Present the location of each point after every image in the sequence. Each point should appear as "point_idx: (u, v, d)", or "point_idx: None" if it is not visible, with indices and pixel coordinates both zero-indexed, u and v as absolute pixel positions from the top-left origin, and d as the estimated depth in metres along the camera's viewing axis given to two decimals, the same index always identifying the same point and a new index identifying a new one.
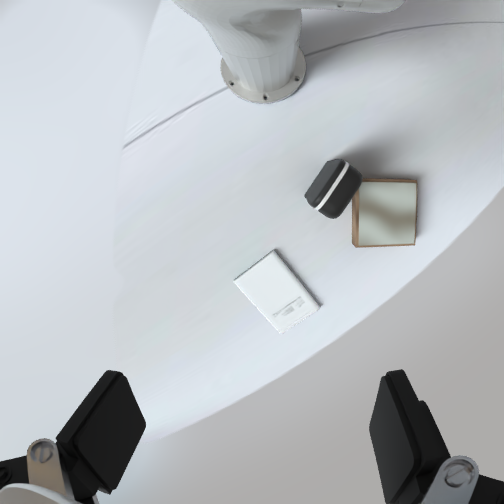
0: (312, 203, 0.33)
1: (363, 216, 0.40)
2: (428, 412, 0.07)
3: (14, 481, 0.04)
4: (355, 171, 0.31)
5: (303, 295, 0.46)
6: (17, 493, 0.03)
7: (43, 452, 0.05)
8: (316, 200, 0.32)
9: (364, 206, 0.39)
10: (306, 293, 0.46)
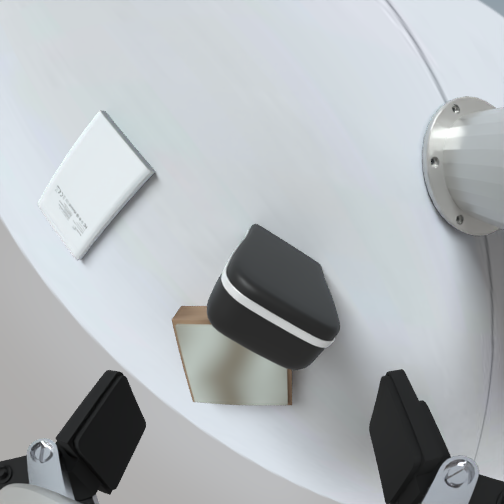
0: (236, 268, 0.14)
1: None
2: (428, 412, 0.07)
3: (14, 481, 0.04)
4: (314, 358, 0.14)
5: (89, 232, 0.25)
6: (17, 493, 0.03)
7: (43, 452, 0.05)
8: (244, 281, 0.13)
9: None
10: (92, 237, 0.25)
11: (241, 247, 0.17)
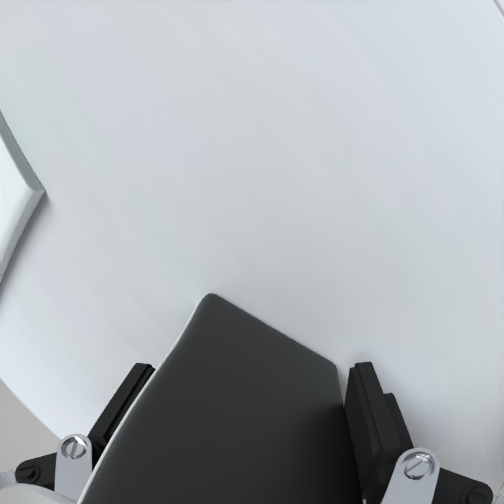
0: None
1: None
2: (395, 404, 0.07)
3: (43, 480, 0.05)
4: None
5: None
6: (17, 493, 0.03)
7: (75, 448, 0.06)
8: None
9: None
10: None
11: (130, 431, 0.05)
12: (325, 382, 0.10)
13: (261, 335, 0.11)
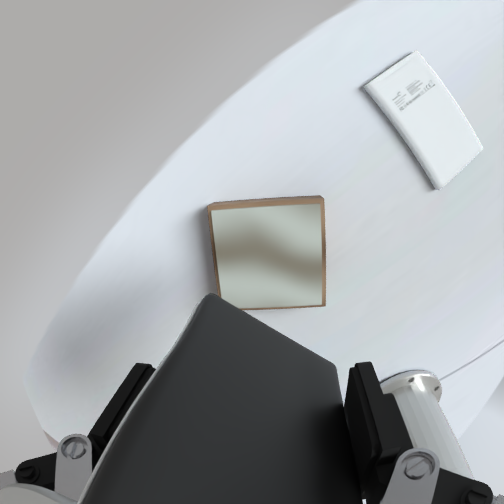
0: None
1: (315, 253, 0.25)
2: (395, 404, 0.07)
3: (43, 480, 0.05)
4: None
5: (396, 111, 0.23)
6: (17, 493, 0.03)
7: (75, 448, 0.06)
8: None
9: (313, 269, 0.25)
10: (391, 114, 0.23)
11: (129, 431, 0.05)
12: (325, 382, 0.10)
13: (261, 335, 0.11)
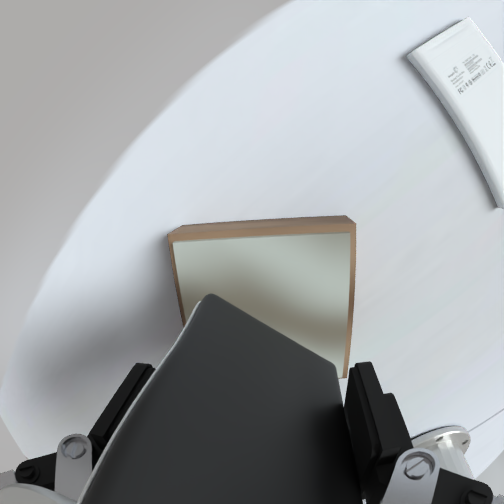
0: None
1: (337, 310, 0.15)
2: (395, 404, 0.07)
3: (43, 480, 0.05)
4: None
5: (454, 93, 0.13)
6: (17, 493, 0.03)
7: (75, 448, 0.06)
8: None
9: (334, 333, 0.16)
10: (448, 97, 0.13)
11: (129, 431, 0.05)
12: (325, 382, 0.10)
13: (261, 335, 0.11)
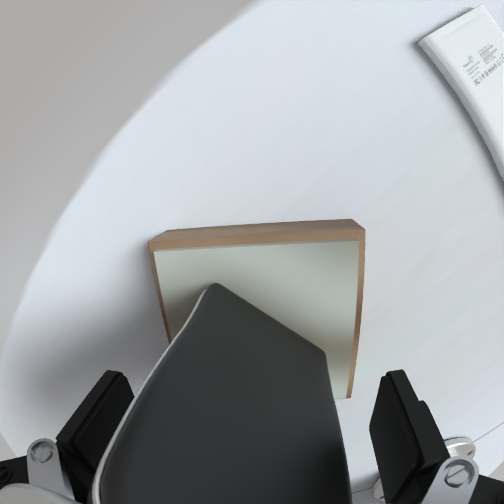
0: (113, 496, 0.03)
1: (342, 328, 0.13)
2: (428, 412, 0.07)
3: (14, 481, 0.04)
4: None
5: (470, 85, 0.11)
6: (17, 493, 0.03)
7: (43, 452, 0.05)
8: None
9: (338, 352, 0.14)
10: (464, 88, 0.11)
11: (152, 390, 0.06)
12: (315, 365, 0.12)
13: (259, 321, 0.12)
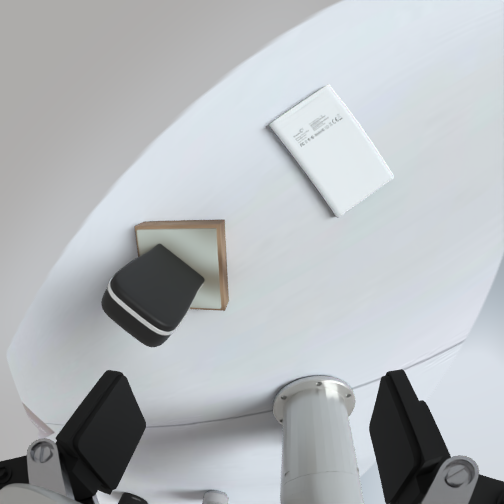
0: (114, 278, 0.21)
1: (212, 267, 0.32)
2: (428, 412, 0.07)
3: (14, 481, 0.04)
4: (160, 341, 0.22)
5: (296, 147, 0.29)
6: (17, 493, 0.03)
7: (43, 452, 0.05)
8: (115, 287, 0.21)
9: (212, 280, 0.32)
10: (291, 150, 0.29)
11: (129, 264, 0.24)
12: (194, 279, 0.30)
13: (174, 259, 0.30)
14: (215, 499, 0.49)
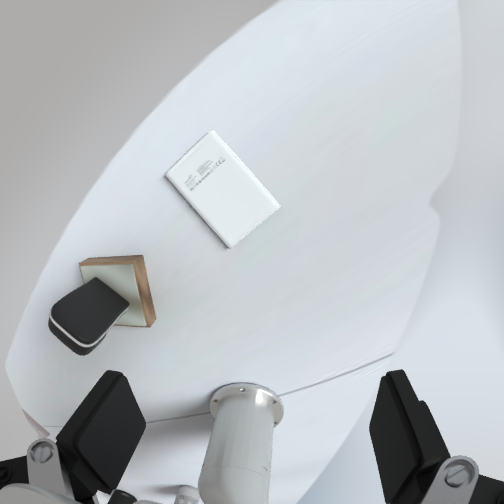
0: (52, 307, 0.27)
1: (134, 294, 0.37)
2: (428, 412, 0.07)
3: (14, 481, 0.04)
4: (85, 351, 0.28)
5: (187, 192, 0.35)
6: (17, 493, 0.03)
7: (43, 452, 0.05)
8: (53, 313, 0.27)
9: (135, 304, 0.38)
10: (184, 195, 0.35)
11: (65, 296, 0.30)
12: (118, 304, 0.36)
13: (104, 288, 0.36)
14: (186, 493, 0.54)
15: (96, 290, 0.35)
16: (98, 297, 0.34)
